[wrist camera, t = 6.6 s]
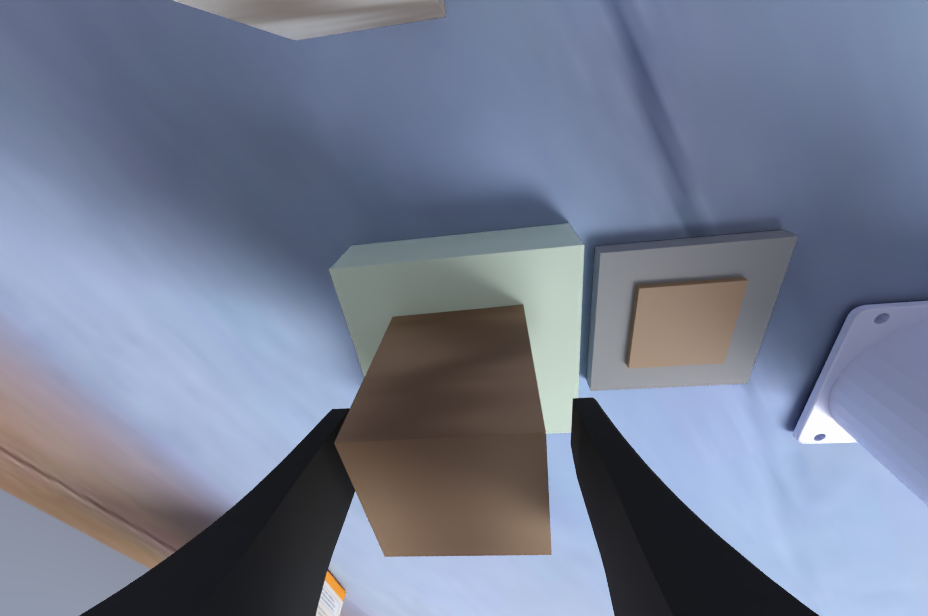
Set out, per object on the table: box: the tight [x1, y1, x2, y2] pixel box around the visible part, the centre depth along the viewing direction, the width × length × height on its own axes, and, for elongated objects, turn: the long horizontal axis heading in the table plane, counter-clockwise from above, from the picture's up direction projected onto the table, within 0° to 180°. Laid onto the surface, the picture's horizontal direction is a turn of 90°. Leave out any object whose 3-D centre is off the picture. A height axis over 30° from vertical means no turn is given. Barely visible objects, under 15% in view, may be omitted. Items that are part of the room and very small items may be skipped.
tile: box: [586, 230, 799, 391], centre depth 15 cm, size 7×7×1 cm
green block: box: [329, 223, 584, 434], centre depth 16 cm, size 9×9×3 cm
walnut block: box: [334, 305, 551, 557], centre depth 12 cm, size 5×5×6 cm
